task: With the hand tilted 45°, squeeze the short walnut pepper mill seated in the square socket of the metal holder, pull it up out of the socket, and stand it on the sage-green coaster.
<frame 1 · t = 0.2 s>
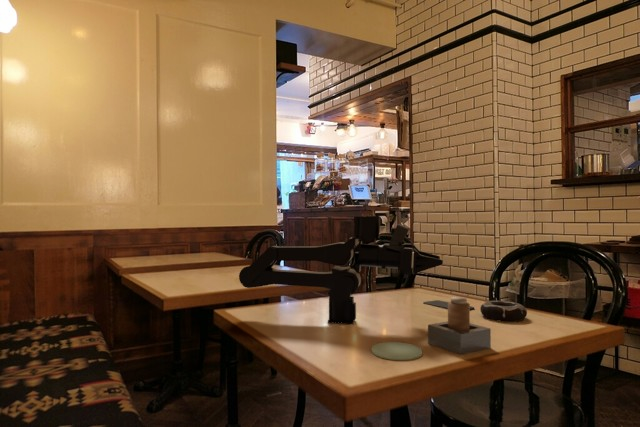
hand: (441, 260, 109), 16 cm above the table, tool horizontal, fingers open, 9 cm apart
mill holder: (458, 345, 92), on the table
pepper mill: (458, 322, 92), in the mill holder
donut: (503, 319, 118), on the table
coaster: (396, 352, 88), on the table
smartphone: (447, 308, 133), on the table
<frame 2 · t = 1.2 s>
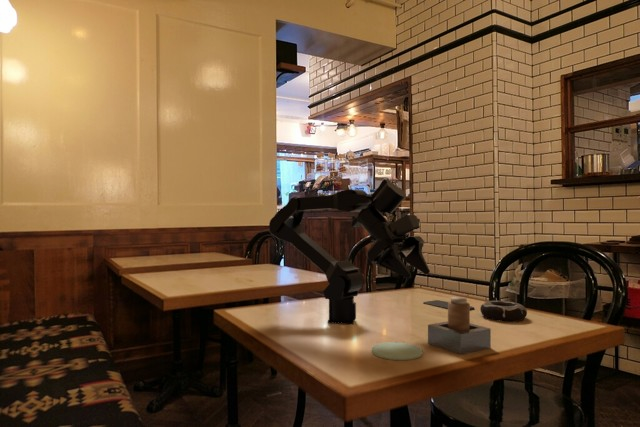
hand: (419, 275, 100), 14 cm above the table, tool tilted 45°, fingers open, 9 cm apart
nothing on the table moved.
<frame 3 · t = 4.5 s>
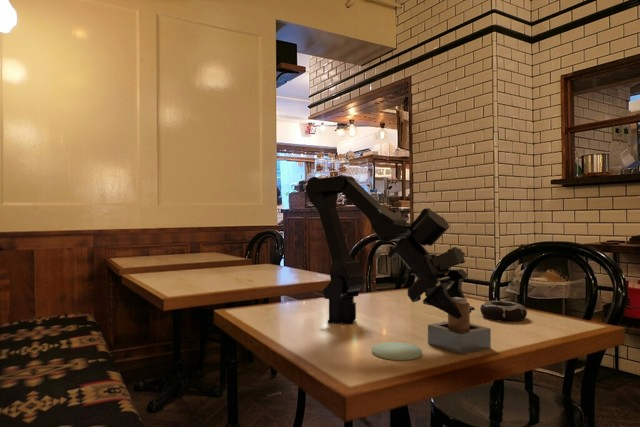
hand: (465, 315, 91), 7 cm above the table, tool tilted 45°, fingers closed on pepper mill, 4 cm apart
pepper mill: (458, 321, 92), in the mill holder, touching gripper
everything else where it was.
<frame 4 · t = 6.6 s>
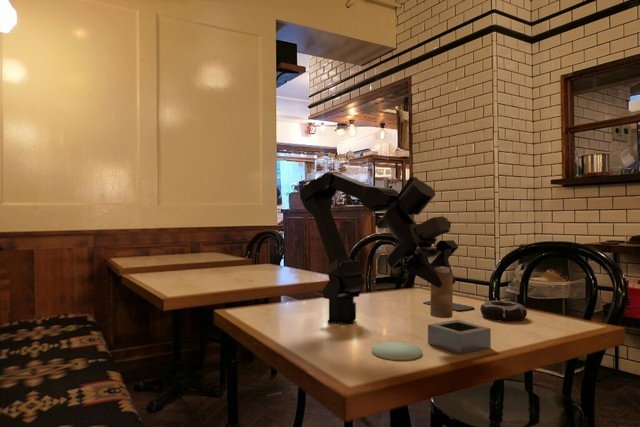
hand: (447, 284, 89), 13 cm above the table, tool tilted 45°, fingers closed on pepper mill, 4 cm apart
pepper mill: (441, 291, 90), point 12 cm above the table, touching gripper
everything else where it was.
when the fingers open (9 cm above the table, at t = 8.8 s): pepper mill drops 1 cm, resting on coaster.
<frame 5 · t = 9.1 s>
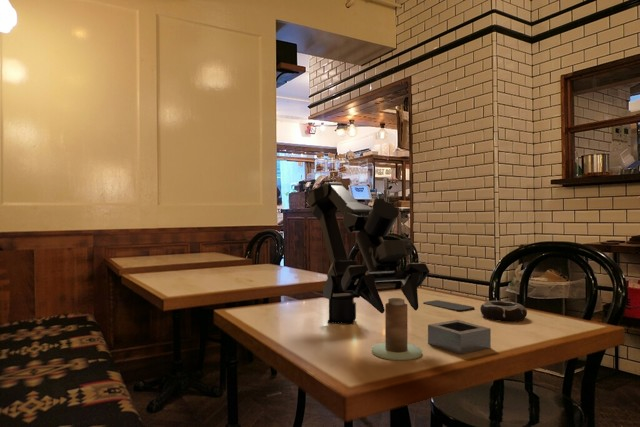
hand: (400, 310, 86), 9 cm above the table, tool tilted 45°, fingers open, 7 cm apart
pepper mill: (396, 324, 88), on the coaster, point 6 cm above the table
everything else where it was.
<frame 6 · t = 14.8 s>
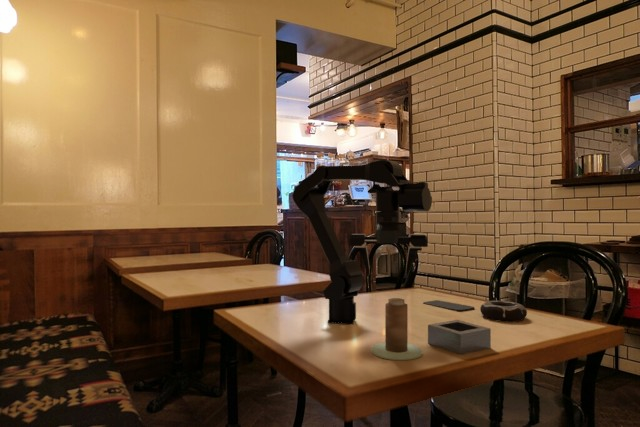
hand: (387, 275, 106), 13 cm above the table, tool pointing down, fingers open, 9 cm apart
nothing on the table moved.
at the end: pepper mill 0.0 cm off-centre on the coaster, point 5.6 cm above the coaster's base; pepper mill tilted 0°; the gripper is holding nothing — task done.
